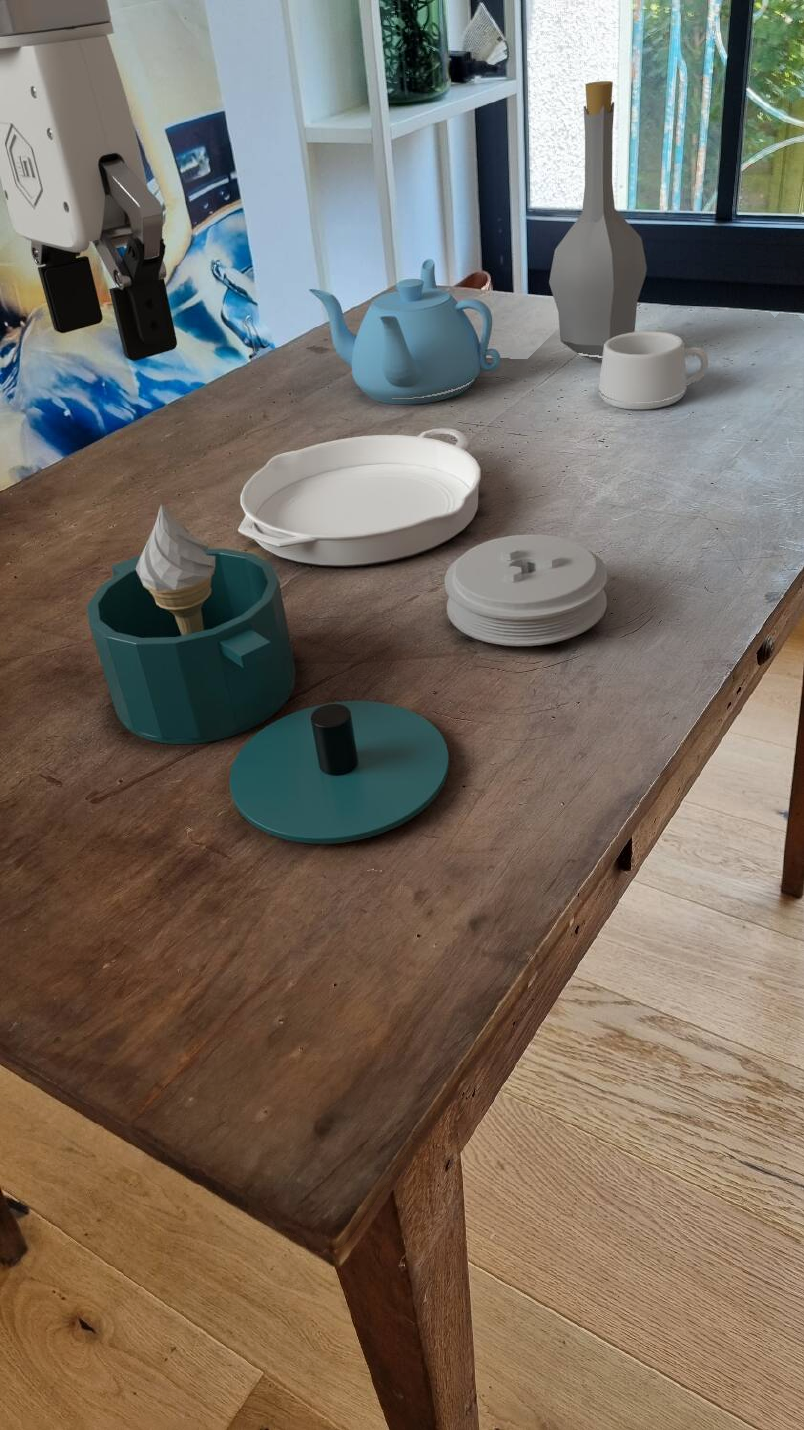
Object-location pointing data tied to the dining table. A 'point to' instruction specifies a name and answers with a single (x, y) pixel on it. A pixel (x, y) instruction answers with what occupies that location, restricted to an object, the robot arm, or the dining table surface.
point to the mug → (646, 369)
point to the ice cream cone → (177, 571)
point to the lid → (526, 590)
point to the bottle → (597, 247)
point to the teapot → (413, 342)
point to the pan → (362, 499)
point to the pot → (195, 653)
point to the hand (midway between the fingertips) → (114, 340)
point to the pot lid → (339, 772)
